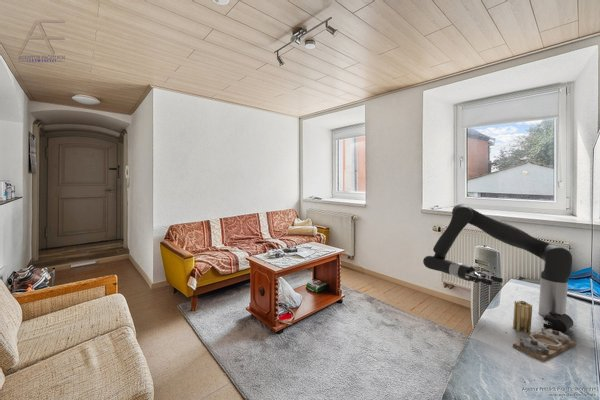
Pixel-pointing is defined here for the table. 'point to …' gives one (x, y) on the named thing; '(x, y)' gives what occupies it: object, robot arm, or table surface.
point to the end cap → (558, 322)
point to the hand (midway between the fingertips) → (497, 281)
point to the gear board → (545, 344)
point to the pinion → (522, 316)
